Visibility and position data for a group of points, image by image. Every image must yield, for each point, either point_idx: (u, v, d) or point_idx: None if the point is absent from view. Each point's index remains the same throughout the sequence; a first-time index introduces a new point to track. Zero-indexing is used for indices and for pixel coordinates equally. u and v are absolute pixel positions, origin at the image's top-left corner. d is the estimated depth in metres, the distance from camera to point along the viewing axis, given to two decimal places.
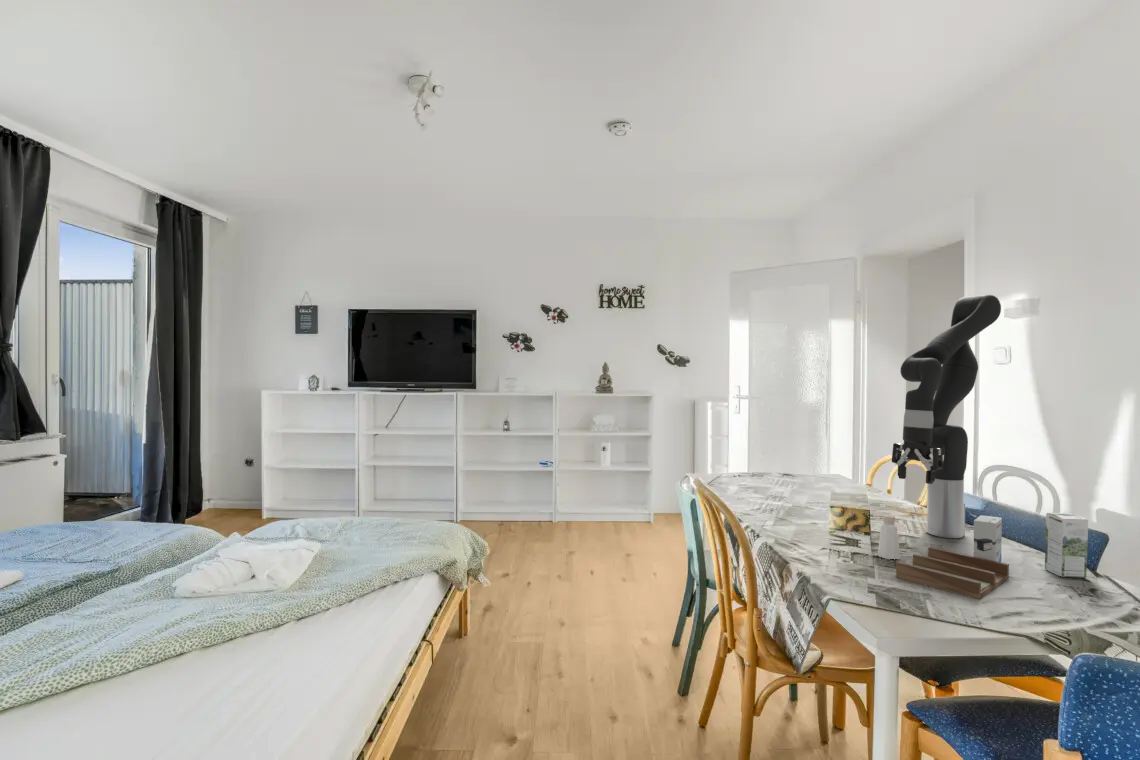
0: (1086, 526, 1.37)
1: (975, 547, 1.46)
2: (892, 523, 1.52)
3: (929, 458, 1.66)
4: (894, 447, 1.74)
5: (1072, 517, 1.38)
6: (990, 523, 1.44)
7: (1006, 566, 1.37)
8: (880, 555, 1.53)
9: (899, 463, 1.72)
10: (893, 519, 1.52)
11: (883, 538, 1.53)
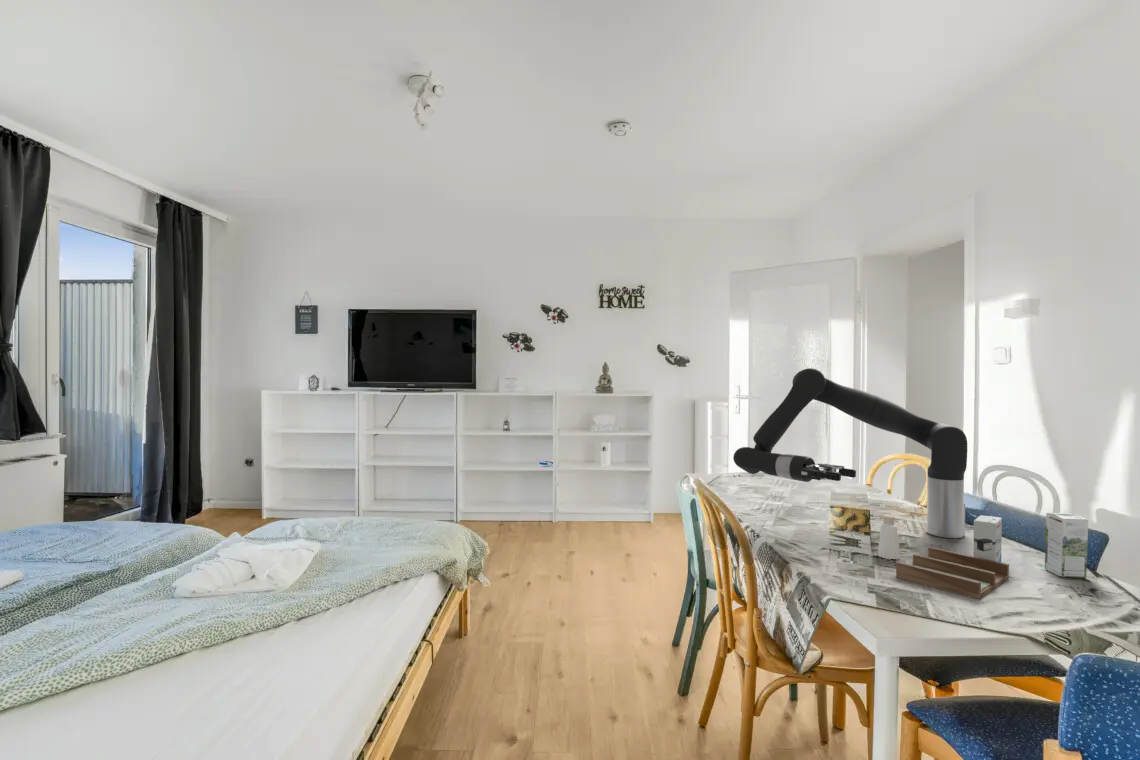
0: (1086, 526, 1.37)
1: (975, 547, 1.46)
2: (892, 523, 1.52)
3: None
4: None
5: (1072, 517, 1.38)
6: (990, 523, 1.44)
7: (1006, 566, 1.37)
8: (880, 555, 1.53)
9: None
10: (893, 519, 1.52)
11: (883, 538, 1.53)
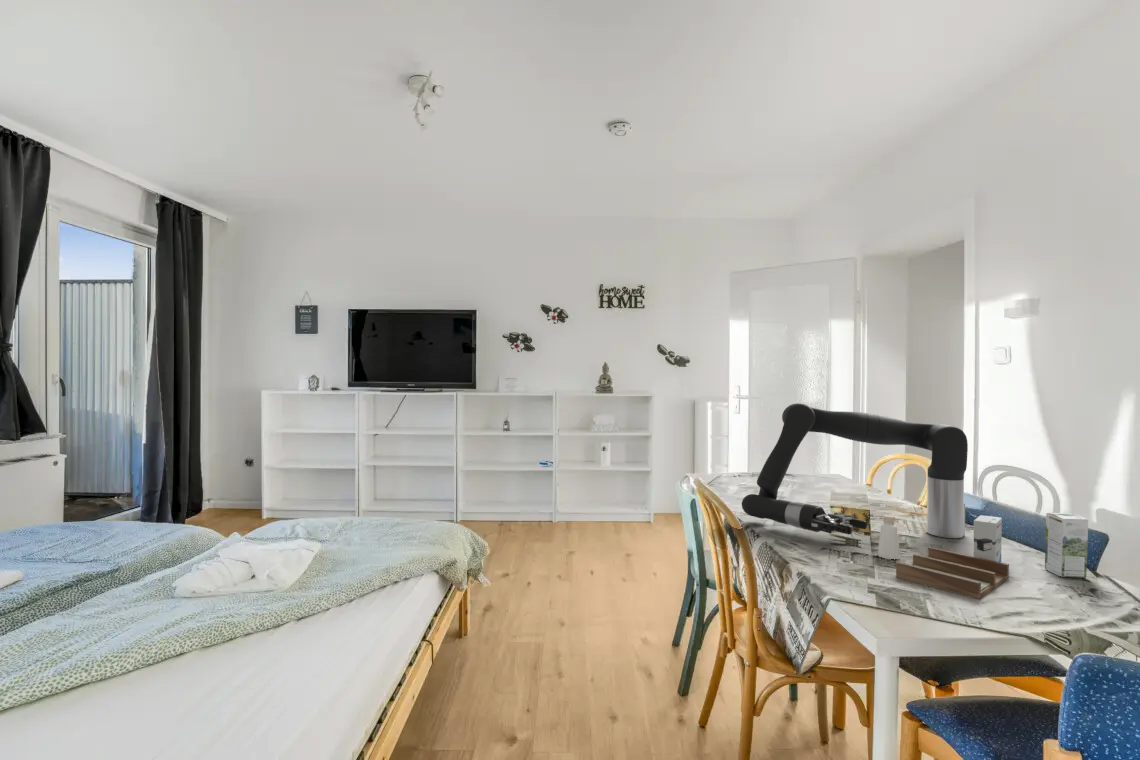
0: (1086, 526, 1.37)
1: (975, 547, 1.46)
2: (892, 523, 1.52)
3: None
4: None
5: (1072, 517, 1.38)
6: (990, 523, 1.44)
7: (1006, 566, 1.37)
8: (880, 555, 1.53)
9: None
10: (893, 519, 1.52)
11: (883, 538, 1.53)
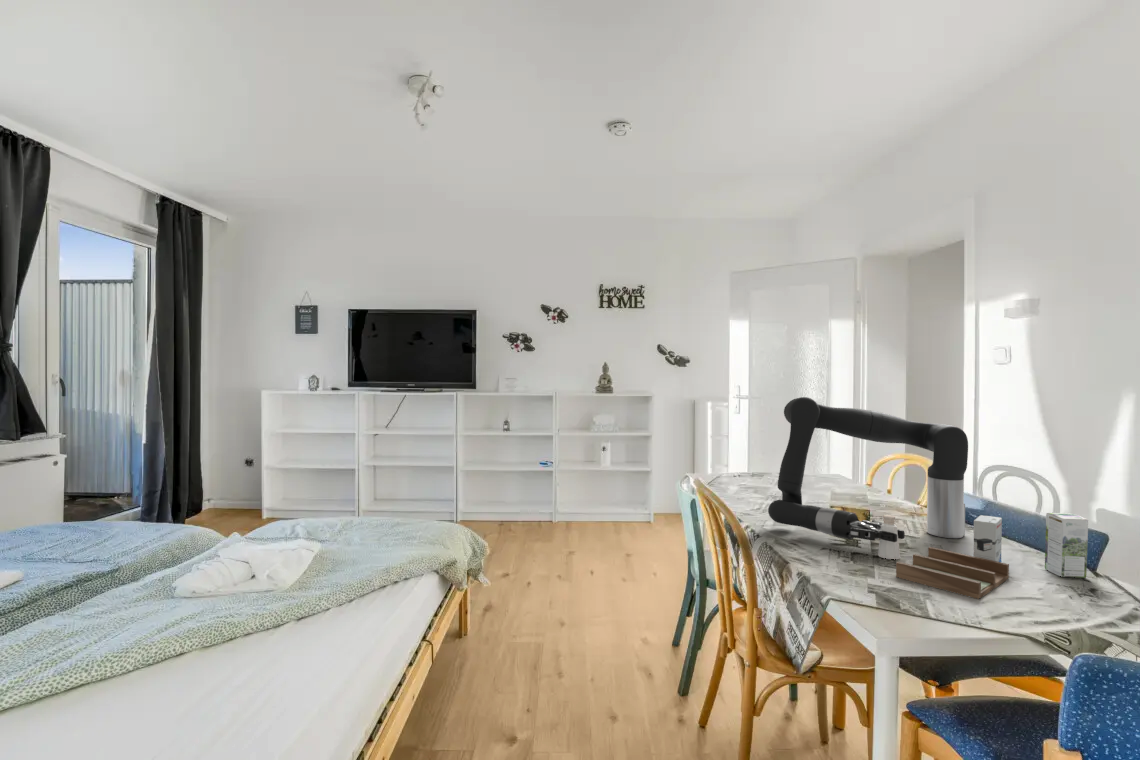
0: (1086, 526, 1.37)
1: (975, 547, 1.46)
2: (892, 523, 1.52)
3: None
4: None
5: (1072, 517, 1.38)
6: (990, 523, 1.44)
7: (1006, 566, 1.37)
8: (880, 555, 1.53)
9: None
10: (893, 519, 1.52)
11: None
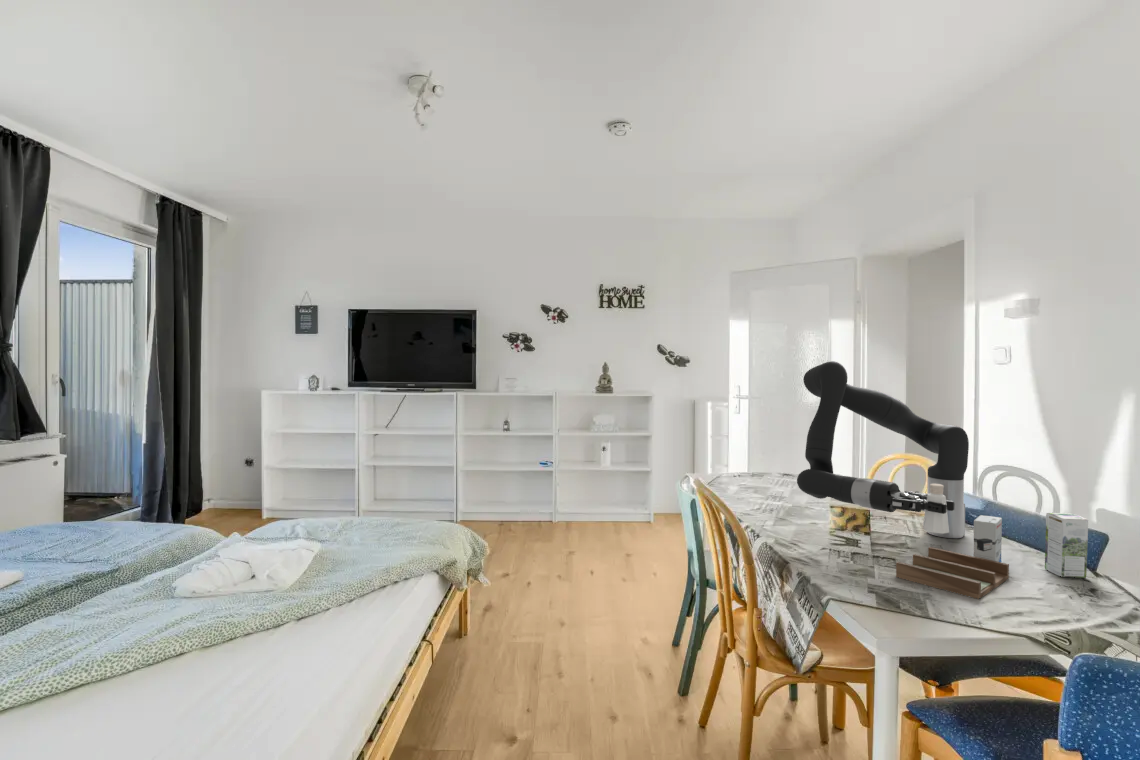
0: (1086, 526, 1.37)
1: (975, 547, 1.46)
2: (940, 492, 1.35)
3: None
4: None
5: (1072, 517, 1.38)
6: (990, 523, 1.44)
7: (1006, 566, 1.37)
8: (926, 528, 1.36)
9: None
10: (942, 488, 1.35)
11: None
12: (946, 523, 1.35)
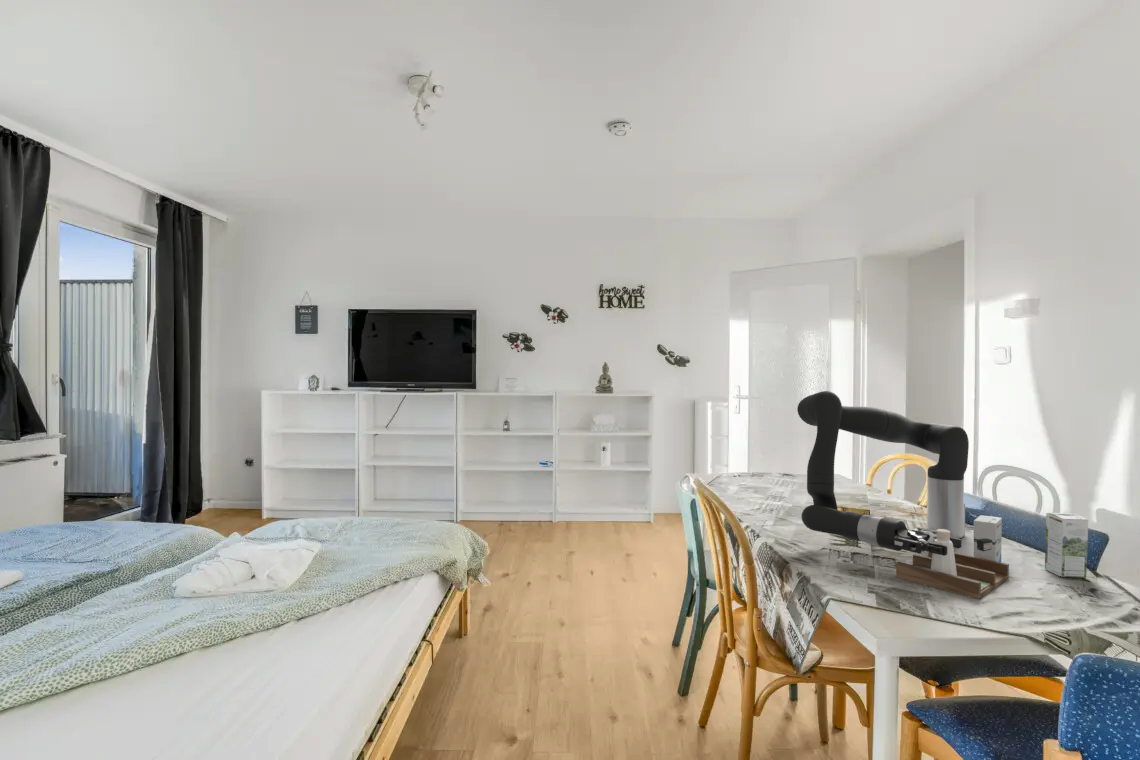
0: (1086, 526, 1.37)
1: (975, 547, 1.46)
2: (947, 539, 1.34)
3: None
4: None
5: (1072, 517, 1.38)
6: (990, 523, 1.44)
7: (1006, 566, 1.37)
8: None
9: None
10: (948, 534, 1.34)
11: (937, 556, 1.34)
12: (954, 570, 1.33)
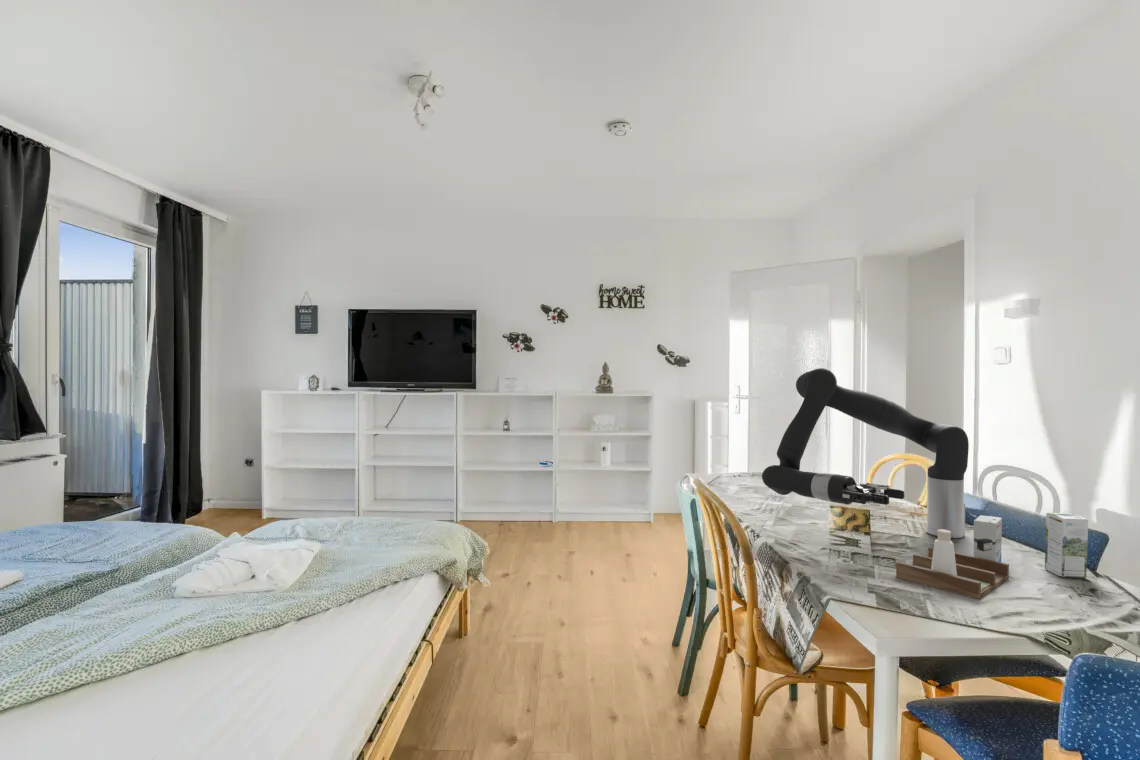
0: (1086, 526, 1.37)
1: (975, 547, 1.46)
2: (948, 539, 1.34)
3: None
4: None
5: (1072, 517, 1.38)
6: (990, 523, 1.44)
7: (1006, 566, 1.37)
8: None
9: None
10: (949, 534, 1.34)
11: (937, 556, 1.34)
12: (954, 570, 1.33)
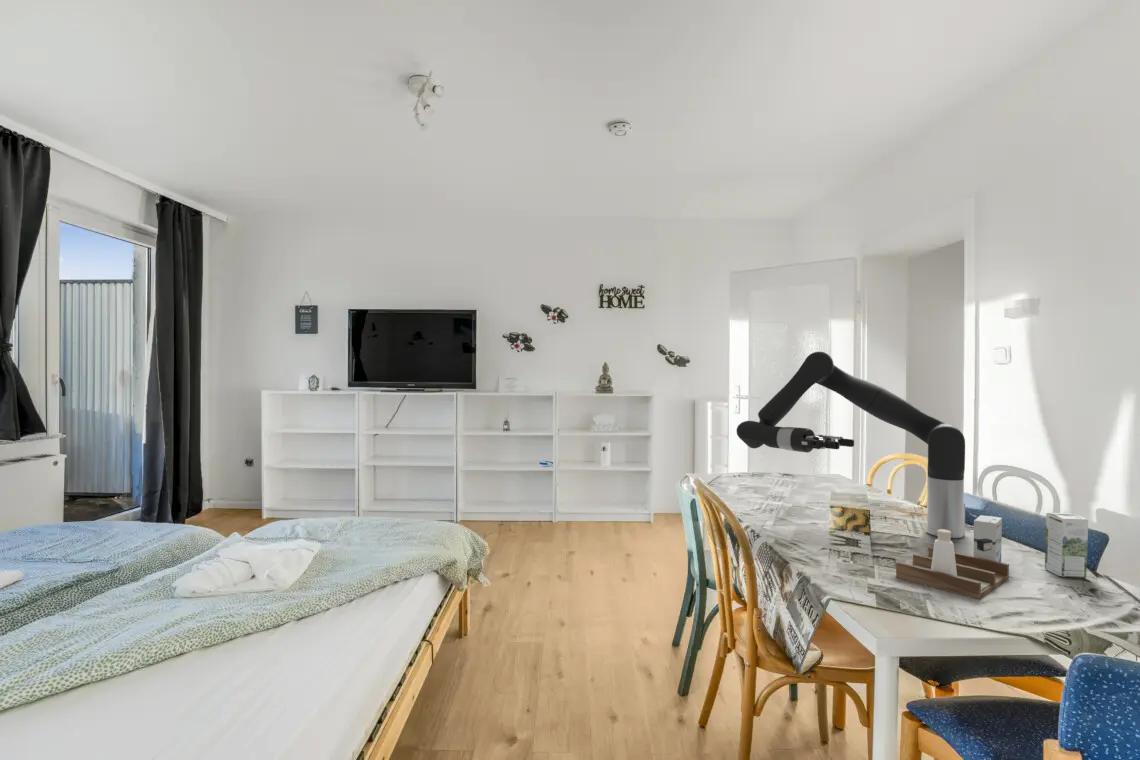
0: (1086, 526, 1.37)
1: (975, 547, 1.46)
2: (948, 539, 1.34)
3: None
4: None
5: (1072, 517, 1.38)
6: (990, 523, 1.44)
7: (1006, 566, 1.37)
8: None
9: (838, 445, 1.75)
10: (949, 534, 1.34)
11: (937, 556, 1.34)
12: (954, 570, 1.33)
